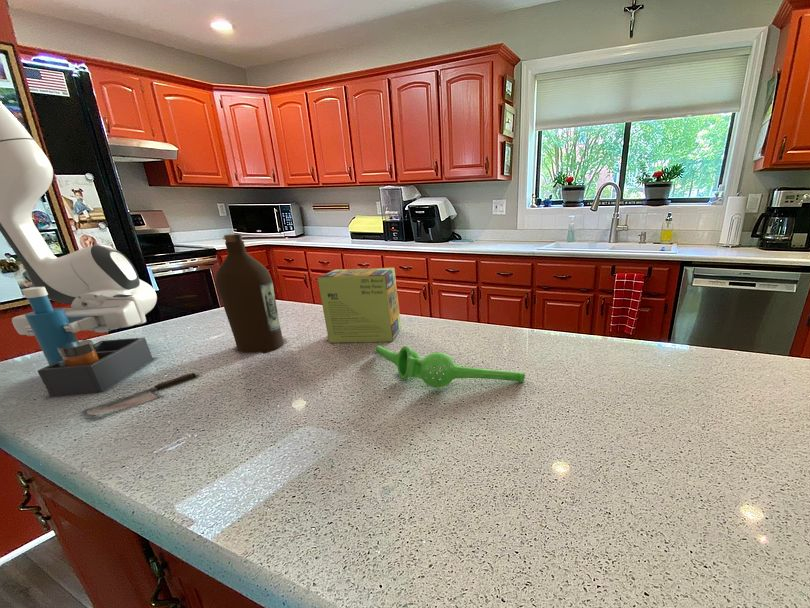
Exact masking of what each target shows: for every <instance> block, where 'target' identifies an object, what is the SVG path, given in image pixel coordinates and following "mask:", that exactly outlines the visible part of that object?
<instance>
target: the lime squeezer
mask: <svg viewBox="0 0 810 608" xmlns="http://www.w3.org/2000/svg"><path fill="white" fill-rule="evenodd" d="M375 353H376V354H378V355H380V356H381V357H383V358H385V359H386V360H388V361H390V362H391V363H393V364H394V365H395V366H396V367H397V372H398V375H399V378H400V379H401V380H404V381H405V380H408V379H409V378H417V379H420V380H422V381H423V382H424V383H425V384H426V385H427V386H429V387H431V388H437V389H440V388H444V387H446V386H448V385H450V384H451V383H452V382H453V381H454V380H455V379H457V380H458V379H484V380H499V381H511V382H518V383H522V382H524V381H525V378H526V373H525V372H523V371H522V372H521V371H509V370H498V369H489V368H488V369H487V368H479V367H477V368H476V367H468V366H463V365H457V364H456V363H455V362H454V360H453V359H452V357H450V356H449V355H448V354H446V353H444V352H432V353H430V354H427V355H426V356H425V357H423V358H421V357H420V354H419V353H418V352H417V351H415V350H413V349H412V348H411V347H410V346H408V345H403V346H402V347H401V348H400V350H399V352H395V351H392V350H388V349H387V348H386V347H383V346H382V345H377V346H376V347H375Z"/></svg>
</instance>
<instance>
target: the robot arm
mask: <svg viewBox="0 0 810 608" xmlns="http://www.w3.org/2000/svg"><path fill="white" fill-rule="evenodd" d="M53 179H54V169H53V165H52V163H51V161H50V159H49V158H48V156H47V155H46V154H45V152H44V151H43V149H42V148H41V147H40V145H39V144H38V143H37V142H36V140H35V139H34V137H32V135H31V134H30V133H29V131H28V130H27V129H26V128H25V127H24V126H23V124H22V123H21V122H20V121H19V120H18V118H16V117H15V116H14V114H13V113H12V112H11V111H10V110H9V109H8V108H7V107H6V106H5V105H4V104H3V103H2V102H1V101H0V233H1V235H2V236H3V237H4V240H6V242H7V243H8V245H9V247H10V249H12V251H13V252H14V254H15V255H16V257H17V258H18V260H19V261H20V263H21V264H22V266H23V267H24V269H25V271H26V273H27V276H28V279H29V281H30V283H31V285H32V287H45V289H46V291H47V293H48V295H47V296H48V299H49V301H53V302H56V303H59V304H64V305H70V307H61V308H62V309H64V312H65V314H66V316H67V318H68V321H69V323H67V324H64V325H63V328H64V329H65V332H66V333H74V334H76V333H78V332H82V331H91V332H94V333H107V332H111V331H113V330H117V329H123V328H129V327H133V326H139V325H142V324H143V325H144V324H145V323H147V317H146V315H147V314H148V313H150V312H151V311H152V310H153V309H154V308H155V306H156V304H157V301H158V296H157V293H156V291H155V289H154V287H153V286H152V285H151V284H149V283H148V282H146V281H144V280H142V279H140V277H139V274H138V271H137V269H136V267H135V266H134V264H133V263H132V261H131V260H130V259H129V258H128V256H126V255H125V254H124V253H122V252H121V251H120V250H118V249H115V248H114V247H111V246H109V245H105V244H101V243H95V244H92V245H90V246H87V247H83V248H81V249H78V250H75V251H73V252H70V253H67V254H65V255H62V256H59V257H57V256H56V255H55V254H54V252H53V251H52V250H51V248H50V246H49V245H48V244H47V242H46V241H45V238H44V237H43V235H42V234H41V233H40V231H39V229H38V228H37V226H36V224H35V223H34V220H33V210H34V208H35V206H36V205H37V202H39V200H40V199H41V198H42V196H43V195H45V194H46V192H47V191H48V190H49V189H50V187H51V185H52V183H53ZM25 314H26V313H24V314H20V315H17V316H14V317H12V318H11V323H12V325H13V327H14V329H15V331H16V332H17V334H19V335H21V336H25V335H26V336H27V337H33V336H34V337H35V335H34V333H33V331H32V329H31V327H30V325H29V323H28V321H27V319H26V317H25Z"/></svg>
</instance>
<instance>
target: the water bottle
mask: <svg viewBox="0 0 810 608" xmlns="http://www.w3.org/2000/svg"><path fill="white" fill-rule="evenodd" d="M21 292H22V293H23V296H24V298H26V299H27V301H28V303H29V305H30V307H31V309H32V311H30V312H27V313H24V314H25V317H26V319H27V321H28V323H29V325H30V327H31V329H32V331H33V333H34V337H35V339H36V341H37V343H38V345H39V347H40V349H41V351H42V353H43V355H44V357H45V359H46V361H47V364H48V365H51V364H53V363H55V362H57V361H59V360H61V359H63V358H62V356H61V355H60V353H59V351H58V349H57V347H58V346H60V345H63V344H66V343H69V342H74V341H79V340H78V338H77V336H76V333H66V332H65V329H64V328H63V325H64V324H67V323H69V321H68V318H67V316H66V314H65V312H64V309H62V308H63V307H55V308H54V307H53V305H52V303H51V300H50V299H48V296H47V295H48V293H47V291H46V289H45V287H34V286H32V287H27V288H23V289H21Z"/></svg>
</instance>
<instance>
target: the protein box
mask: <svg viewBox="0 0 810 608" xmlns="http://www.w3.org/2000/svg"><path fill="white" fill-rule="evenodd" d="M317 285H318V290H319V294H320V300H321V306H322V311H323V316H324V323H325V327H326V332H327V339H328V343H330V344H331V343H336V344H337V343H339V344H340V343H382V342H387V343H388V342H390V343H391V342H393V341H394V340H395V339H396V337H397V335H398V334H399V333H400V331H401V329H402V321H401V314H400V305H399V296H398V295H399V294H398V286H397V279H396V269H395V267H380V268H379V267H377V268H374V267H373V268H345V269H333V270H331V271H329V272H327V273H324V274H322V275H319V276H318V277H317Z"/></svg>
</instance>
